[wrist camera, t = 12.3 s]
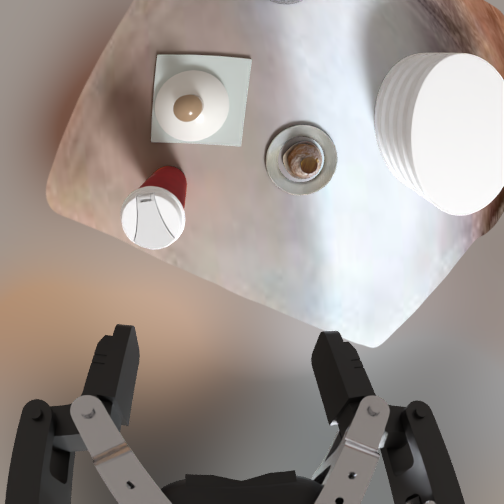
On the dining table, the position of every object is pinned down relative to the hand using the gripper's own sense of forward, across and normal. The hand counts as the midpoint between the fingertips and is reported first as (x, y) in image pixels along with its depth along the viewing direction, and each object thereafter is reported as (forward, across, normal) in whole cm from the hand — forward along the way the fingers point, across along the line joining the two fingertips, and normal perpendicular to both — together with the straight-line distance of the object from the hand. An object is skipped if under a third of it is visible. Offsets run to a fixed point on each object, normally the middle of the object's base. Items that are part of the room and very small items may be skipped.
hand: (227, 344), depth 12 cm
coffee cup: (+38, +8, +6) cm, 40 cm away
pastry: (+39, -13, 0) cm, 41 cm away
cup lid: (+38, +5, -7) cm, 38 cm away
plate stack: (+38, -38, -12) cm, 56 cm away
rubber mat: (+38, +4, -8) cm, 39 cm away
